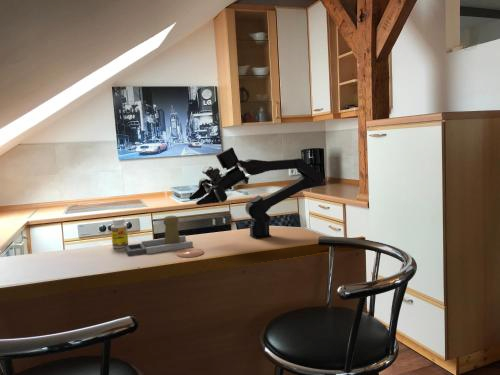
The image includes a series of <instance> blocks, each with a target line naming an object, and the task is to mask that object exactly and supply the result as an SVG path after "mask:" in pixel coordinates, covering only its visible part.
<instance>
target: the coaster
mask: <svg viewBox="0 0 500 375" xmlns="http://www.w3.org/2000/svg"><path fill="white" fill-rule="evenodd" d="M204 253H205V252H204V249H202V248H198V247H197V248H196V247H191V248H184V249H178V250H177V251H176V256H177V257H180V258H193V257H194V258H195V257H198V256H202V255H203V254H204Z"/></svg>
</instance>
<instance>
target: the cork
mask: <svg viewBox="0 0 500 375" xmlns="http://www.w3.org/2000/svg"><path fill="white" fill-rule="evenodd" d="M163 224H164V228H165V230H164V238H165V241H164V244H163V245H167V244H174V243H181V242H180V237H179V236H180V234H179V229H178V228H179V227H178V224H179V217H178V216H176V215H167V216H164V218H163Z"/></svg>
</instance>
